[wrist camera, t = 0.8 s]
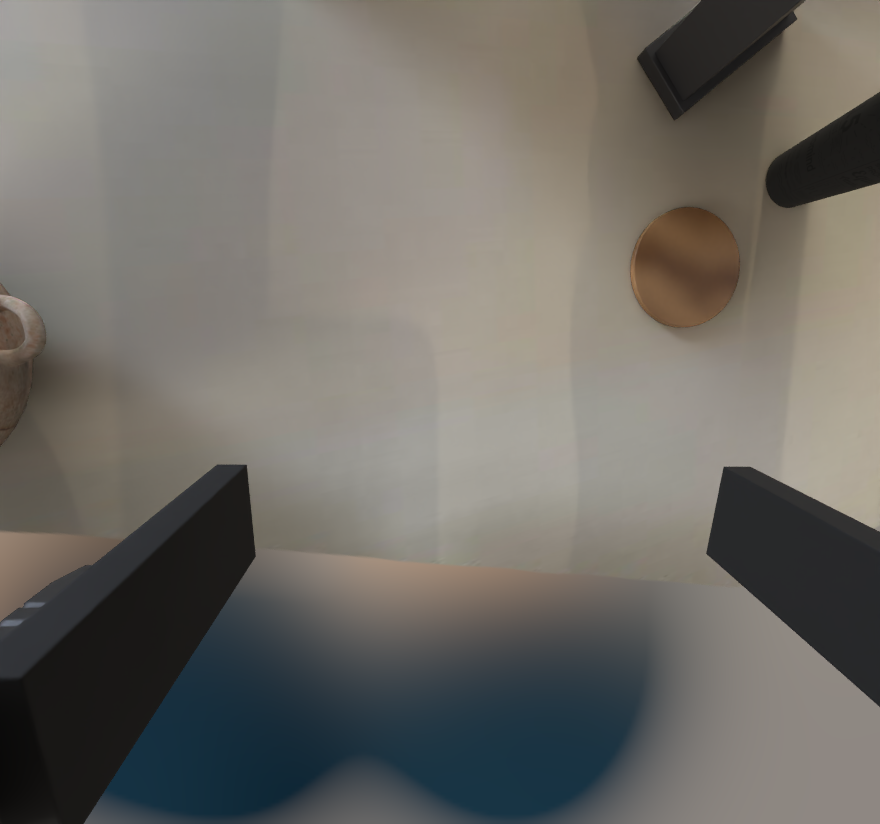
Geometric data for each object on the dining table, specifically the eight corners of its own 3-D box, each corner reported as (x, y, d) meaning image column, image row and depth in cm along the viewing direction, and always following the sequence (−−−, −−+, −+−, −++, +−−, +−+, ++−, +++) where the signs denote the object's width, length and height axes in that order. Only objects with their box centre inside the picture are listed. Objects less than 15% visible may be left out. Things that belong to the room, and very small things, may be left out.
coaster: (633, 205, 38) (638, 203, 37) (739, 212, 39) (745, 210, 38) (626, 326, 39) (630, 325, 38) (729, 328, 40) (734, 328, 40)
